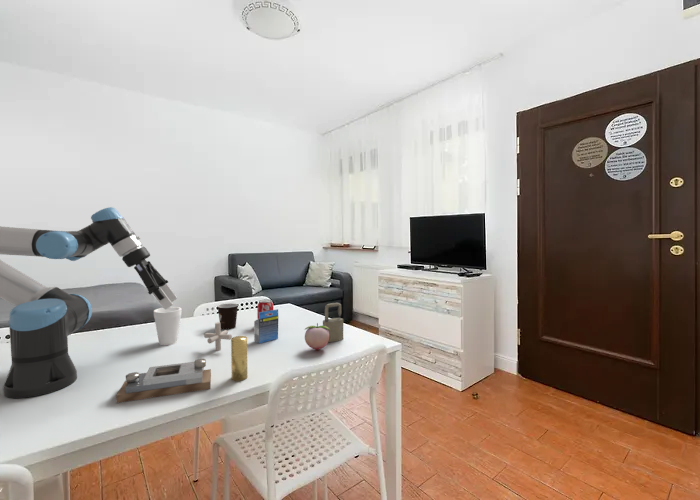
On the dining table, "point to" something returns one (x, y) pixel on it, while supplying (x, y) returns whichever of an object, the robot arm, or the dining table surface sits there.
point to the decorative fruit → (317, 336)
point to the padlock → (334, 324)
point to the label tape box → (266, 327)
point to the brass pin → (239, 358)
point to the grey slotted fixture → (166, 376)
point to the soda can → (264, 306)
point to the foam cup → (168, 324)
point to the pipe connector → (217, 336)
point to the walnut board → (164, 390)
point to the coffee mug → (227, 315)
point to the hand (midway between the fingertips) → (171, 303)
